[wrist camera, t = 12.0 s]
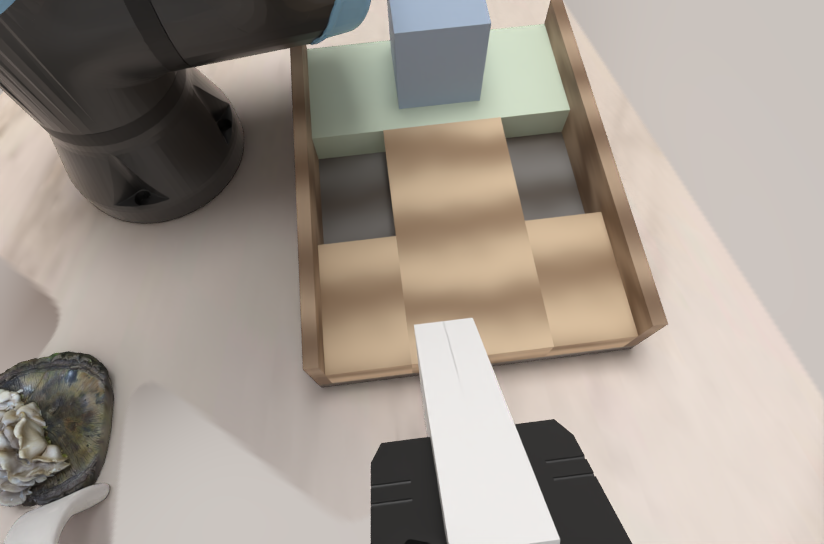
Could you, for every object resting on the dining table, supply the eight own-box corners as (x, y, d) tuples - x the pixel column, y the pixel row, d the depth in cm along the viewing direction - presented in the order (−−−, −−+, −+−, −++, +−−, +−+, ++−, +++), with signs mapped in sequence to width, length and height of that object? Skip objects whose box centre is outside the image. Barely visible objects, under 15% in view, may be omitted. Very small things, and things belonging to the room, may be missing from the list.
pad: (561, 131, 47) (570, 109, 44) (318, 159, 46) (312, 138, 43) (537, 48, 50) (544, 23, 48) (313, 73, 50) (307, 49, 47)
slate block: (479, 100, 44) (491, 23, 37) (399, 109, 44) (394, 33, 37) (466, 40, 47) (475, -44, 40) (390, 48, 47) (384, -34, 40)
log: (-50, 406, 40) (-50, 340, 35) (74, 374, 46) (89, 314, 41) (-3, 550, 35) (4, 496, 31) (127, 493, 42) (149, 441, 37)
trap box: (631, 348, 40) (668, 324, 34) (321, 387, 39) (303, 369, 33) (545, 55, 51) (561, -2, 45) (305, 81, 51) (289, 27, 45)
